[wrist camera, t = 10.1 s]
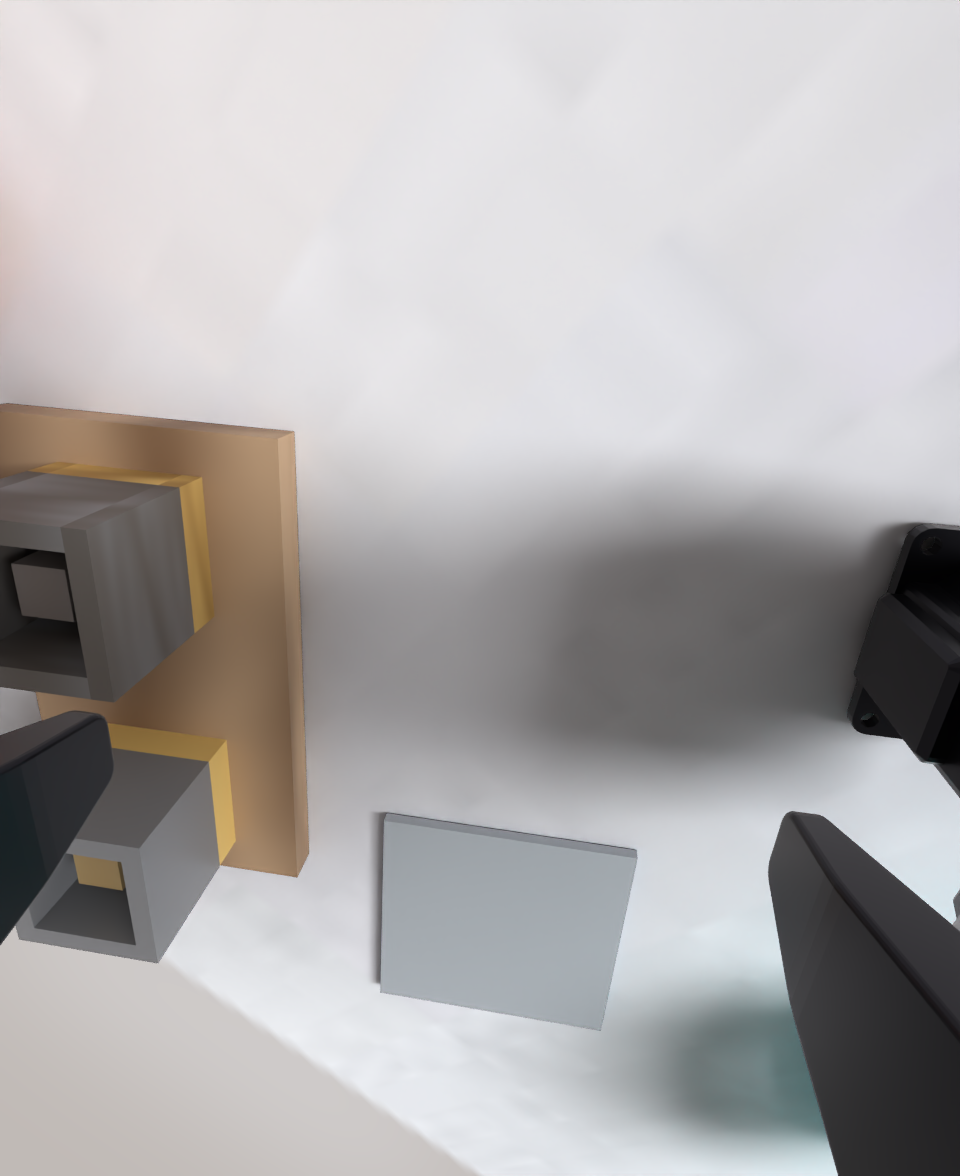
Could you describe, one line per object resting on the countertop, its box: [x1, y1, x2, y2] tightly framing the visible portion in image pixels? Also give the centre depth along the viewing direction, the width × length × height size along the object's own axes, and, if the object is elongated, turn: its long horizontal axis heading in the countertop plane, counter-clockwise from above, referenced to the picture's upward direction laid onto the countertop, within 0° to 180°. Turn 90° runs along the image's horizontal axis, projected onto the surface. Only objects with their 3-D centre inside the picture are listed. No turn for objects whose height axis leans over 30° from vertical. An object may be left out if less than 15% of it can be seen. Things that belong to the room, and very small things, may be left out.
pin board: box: [0, 403, 309, 891], centre depth 20 cm, size 9×16×6 cm, turn 176°
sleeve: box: [15, 723, 236, 963], centre depth 22 cm, size 4×4×5 cm
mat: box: [380, 813, 637, 1031], centre depth 26 cm, size 9×9×1 cm
